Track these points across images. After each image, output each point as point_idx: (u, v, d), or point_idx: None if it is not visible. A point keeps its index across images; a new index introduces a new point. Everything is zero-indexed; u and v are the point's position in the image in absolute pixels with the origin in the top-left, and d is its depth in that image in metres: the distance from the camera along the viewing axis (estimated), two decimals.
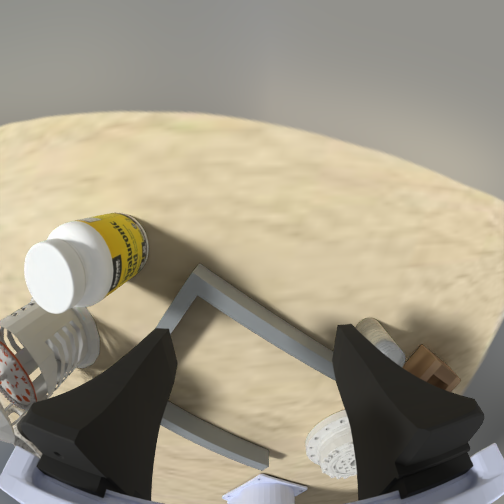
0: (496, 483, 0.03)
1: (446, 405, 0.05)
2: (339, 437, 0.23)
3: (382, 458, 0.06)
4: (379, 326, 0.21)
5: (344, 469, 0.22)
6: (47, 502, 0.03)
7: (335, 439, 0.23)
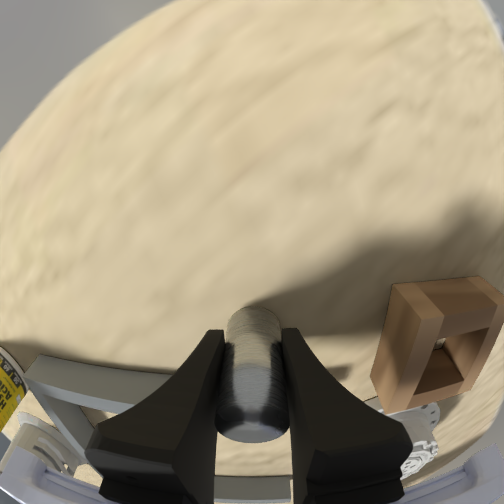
0: (496, 483, 0.03)
1: (364, 426, 0.05)
2: None
3: (301, 471, 0.06)
4: (242, 330, 0.11)
5: None
6: (47, 502, 0.03)
7: None
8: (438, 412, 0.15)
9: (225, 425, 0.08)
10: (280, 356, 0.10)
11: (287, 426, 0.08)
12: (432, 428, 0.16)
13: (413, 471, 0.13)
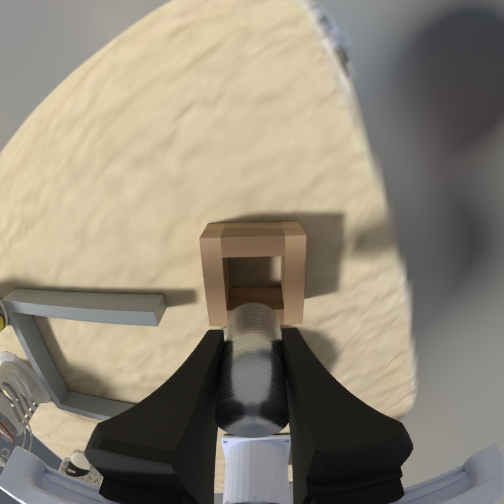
0: (496, 483, 0.03)
1: (364, 425, 0.05)
2: None
3: (301, 471, 0.06)
4: (241, 326, 0.11)
5: None
6: (47, 502, 0.03)
7: None
8: None
9: (225, 420, 0.08)
10: (280, 351, 0.10)
11: (287, 420, 0.08)
12: None
13: None
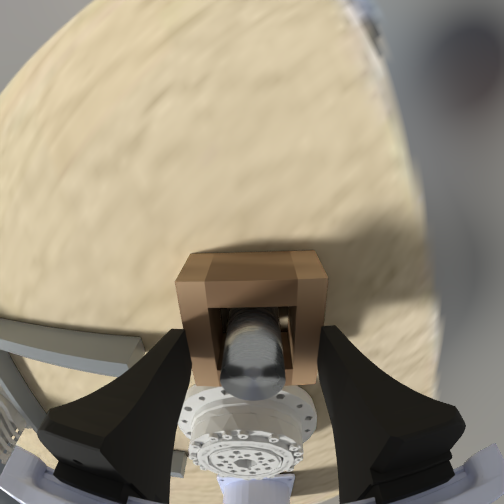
0: (496, 483, 0.03)
1: (424, 411, 0.05)
2: (191, 433, 0.16)
3: (359, 463, 0.06)
4: None
5: (243, 472, 0.15)
6: (47, 502, 0.03)
7: None
8: (309, 407, 0.16)
9: (229, 381, 0.10)
10: (277, 324, 0.12)
11: (283, 381, 0.10)
12: (313, 425, 0.17)
13: (281, 468, 0.15)
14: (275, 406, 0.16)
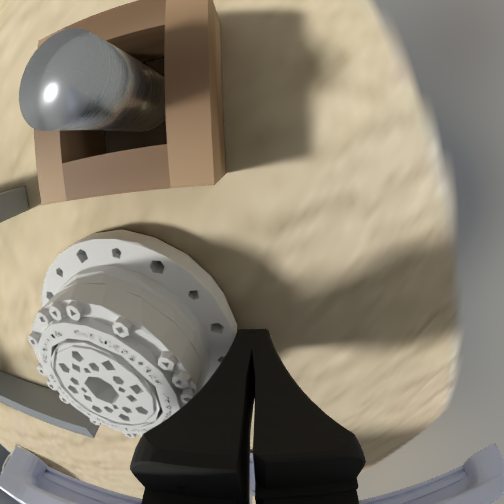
0: (496, 483, 0.03)
1: (312, 433, 0.05)
2: None
3: None
4: None
5: (111, 413, 0.09)
6: (47, 502, 0.03)
7: None
8: (211, 300, 0.11)
9: (28, 90, 0.04)
10: (143, 66, 0.06)
11: (96, 64, 0.04)
12: None
13: (164, 415, 0.09)
14: (147, 284, 0.10)
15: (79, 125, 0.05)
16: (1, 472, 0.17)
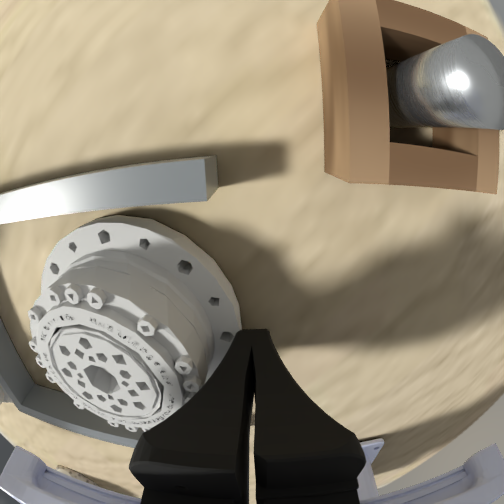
0: (496, 483, 0.03)
1: (313, 433, 0.05)
2: None
3: None
4: None
5: (102, 402, 0.09)
6: (47, 502, 0.03)
7: None
8: (230, 310, 0.11)
9: (467, 71, 0.04)
10: None
11: None
12: None
13: (162, 413, 0.09)
14: (172, 282, 0.10)
15: (483, 128, 0.05)
16: None
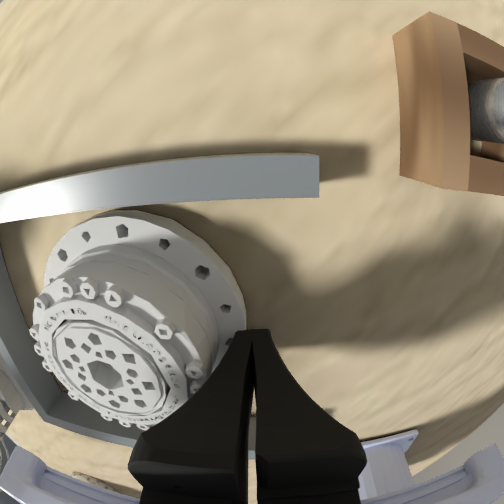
0: (496, 483, 0.03)
1: (314, 433, 0.05)
2: None
3: None
4: (469, 82, 0.07)
5: (101, 396, 0.09)
6: (47, 502, 0.03)
7: None
8: (239, 318, 0.11)
9: None
10: None
11: None
12: None
13: (162, 412, 0.09)
14: (188, 286, 0.10)
15: None
16: None
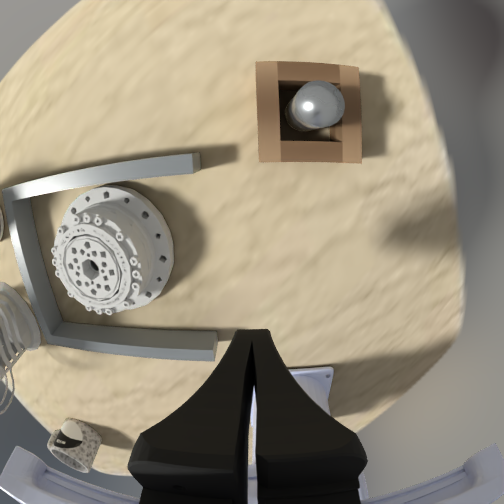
0: (496, 483, 0.03)
1: (314, 433, 0.05)
2: None
3: None
4: None
5: (86, 287, 0.17)
6: (47, 502, 0.03)
7: None
8: (165, 242, 0.19)
9: (303, 102, 0.12)
10: None
11: (343, 106, 0.12)
12: (165, 273, 0.20)
13: (118, 294, 0.18)
14: (137, 221, 0.18)
15: None
16: (51, 447, 0.25)
